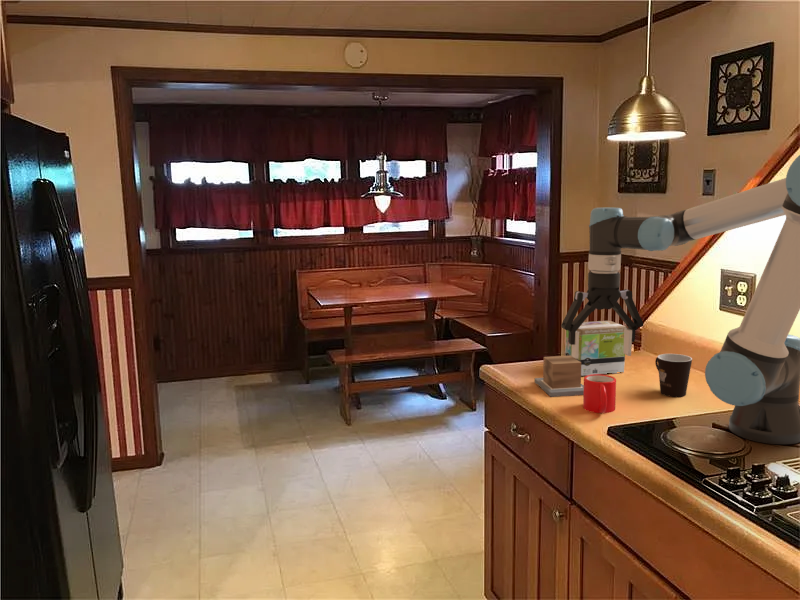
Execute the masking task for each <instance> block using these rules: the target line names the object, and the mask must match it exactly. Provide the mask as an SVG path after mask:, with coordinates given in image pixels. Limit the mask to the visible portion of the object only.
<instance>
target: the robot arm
mask: <svg viewBox="0 0 800 600" xmlns="http://www.w3.org/2000/svg"><path fill="white" fill-rule="evenodd" d="M783 216H785V220H784V223H783V225H782V228H781V230H780V231H779V234H778V237H777V239H776V241H775V244H774V246H773V248H772V250H771V253H770V255H769V257H768V260H767V263H766V265H765V267H764V269H763V271H762V273H761V276H760V278H759V281H758V283H757V285H756V288H755V290H754V293H753V295H752V297H751V299H750V302H749V304H748V306H747V308H746V311H745V314H744V316H743V318H742V320H741V323H740V324H739V327H736V328H733V329H730V330H728V332H727V335H726V337H725V339H724V341H723V345H722V346H721V349H720V350H719V352H717V353H715V354H714V355H713V356H712V357H711V358H709V360H708V361H707V363H706V365H705V370H704V377H705V382H706V384H707V386H708V388H709V390H710V391H711V393H712V394H713V395H714V396H715V397H716V398H717V399H719V400H720V401H721V402H724V403H726V404H728V405H731V406H734V407H733V410H732V412H731V415H730V416H729V420H728V422H729V423H728V430H729V431H730V432H732V434H734V435H736V436H738V437H740V438H742V439H745V440H749V441H753V442H756V443H757V442H758V443H763V444H770V445H794V444H795V445H796V444H798V443H800V405H799V398H800V337H798V336H797V335H793V334H789V333H790V331H791V329H792V327H793V325H794V322H795V321H796V318H797V317H798V314H799V312H800V154H799V155H798V156H797V157H796V158H795V159H794V160H793V161H792V163H791V164H790V165H789V167H788V170H787V172H786V176H785V177H784V178H781V179H778V180H774V181H771V182H768V183H765V184H762V185H759V186H755V187H752V188H750V189H747V190H743V191H740V192H738V193H734V194H730V195H727V196H724V197H722V198H718V199H715V200H711V201H709V202H705V203H702V204H699V205H696V206H693V207H690V208H688V209H687V208H686V209H683V210H680V211H677V212H674V213H670V214H665V215H664V214H662V215H652V216H651V215H650V216H625V215H624V210H623V209H622V208H621V207H594V208H592V210H591V211H590V217H589V225H588V228H589V241H588V243H589V246H588V247H589V250H588V265H587V266H588V268H587V269H588V270H589V272H588V274H587V291H586V292H585V291H584V292H583V291H579V290H576V291H575V292H574V297H573V301H572V303H571V305H570V306H569V309H568V310H567V312H566V315H565V317H564V319H563V321H562V323H561V325H560V327H561V329H563V330H565V331H566V330H568V332H569V335H568V342H569V344H571V345H572V352H571V356H573V357H574V358H578V354H579V332H577V331H576V330H577V329H578V328H579V327H580V326H581V324H582V323H583V322H586V320H587V318H589V316H590V315H591V314H592V313H593V312H594V311H595V310H597V311H598V310H604V309H605V310H611V309H613V310H614V312H615V313H616V314H617V315H618V317H619V318H620V319H621V320H622V321H623V323H624V324H625V326H626V328H624V350H623V353H624V354H625V356H628V357H630V356H632V343H634V342H635V341H636V331H637V330H638V329H639V328H641V327H644V321H643V319H642V318H641V316H640V312H639V310H638V309H637V306H636V304H635V301H634V299H633V291H631V290H630V289H627V288H624V289H623V290H620V286H621V273H620V272H619V271H620V270H621V263H622V249H628V250H629V249H631V250H642V251H649V252H654V251H657V252H659V251H666V250H668V248H669V247H672V246H674V247H676V246H681V245H685V244H688V243H689V242H691V241H695V240H698V239H702V238H705V237H710V236H713V235H716V234H720V233H723V232H728V231H731V230H734V229H738V228H742V227H746V226H750V225H754V224H758V223H761V222H765V221H768V220H771V219H775V218H779V217H783ZM620 298H621V299H623V302H624V304H625V306H626V307H627V310H628V312H629V315H630V316H629V315H628V314H627V313H626V312H625V310H624V309H623V307H622V306H621V304H620V303H619V302H618V301H619V299H620ZM585 299H586V300H587V302H586V304H585V305H584V307H583V309H582V310H581V311H580V312H579V309H580V308H581V306H582V303H583V302H584V301H585ZM578 312H579V313H578Z"/></svg>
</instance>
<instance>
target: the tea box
mask: <svg viewBox="0 0 800 600" xmlns="http://www.w3.org/2000/svg"><path fill="white" fill-rule="evenodd" d="M624 328H627V325H624V324H623V325H622V324H620V323H617V322H614V321H611V320H598V321H595V320H594V321H584V322H583V323H582V324H581V326H580V327H579V328H578V329H577V330H576V331H577V332H579V354H578V358H575V359H577V360H578V361H580V362H581V377H583V376H584V377H585V376H587V375H592V374H602V375H608V374H607V373H612V374H618V373H617V372H623V373H625V362H626V354H624V353H623V350H624ZM568 335H569V332H568V330H565V350H564V351H565V353H564V354H565V355H564V356H571V352H572V345H571V344H569V342H568ZM572 357H573V356H572Z"/></svg>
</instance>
